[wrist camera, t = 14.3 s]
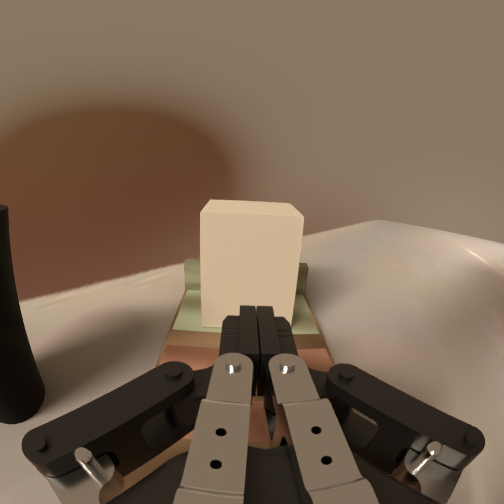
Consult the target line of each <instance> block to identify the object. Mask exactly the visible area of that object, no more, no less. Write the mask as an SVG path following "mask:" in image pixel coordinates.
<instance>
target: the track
mask: <svg viewBox="0 0 504 504" xmlns="http://www.w3.org/2000/svg"><path fill="white" fill-rule="evenodd" d="M184 270H185V292H184V295H183V297H182V300H181V302H180V305H179V307H178V310H177V312H176V315H175V317H174V320H173V322H172V325H171V327H170V330H169V333H168V335H167V338H166V340H165V343H164V346H163V348H162V351H161V354H160V356H159V359H158V362H157V365H156V367H157V366H159V365H161V364H163V363H166V362H170V361H179V362H183V363H186V364H188V365H189V366H190V367H191V368H192V370H200V369H205V368H208V367H210V366H212V365H213V364H214V363H215V360H216V359H217V358H218V357H219V348H220V339H221V330H222V328H218V327H202V313H201V277H200V259H186V260H185V262H184ZM307 274H308V265H307V263H299V269H298V278H297V285H296V293H295V301H294V308H293V315H292V322H291V329H292V333H293V337H294V341H295V344H296V348H297V352H298V356H299V357H300V358H302V359H303V360H304V361H305V363H306V365H307V367H309V368H311V369H314V370H318V371H324V372H328V371H329V369H330V368H331V367H332V366H334V362H333V360H332V357H331V355H330V352H329V350H328V348H327V345H326V343H325V341H324V338H323V336H322V333H321V331H320V329H319V326H318V324H317V322H316V319H315V317H314V315H313V312H312V310H311V308H310V305H309V303H308V301H307V298H306V296H305V289H306V282H307ZM156 367H155V368H156ZM263 404H264V399H263V396H257V386H256V396H252V406H251V408H250V420H249V434H248V446H251V447H256V448H262V449H269V443H268V437H267V432H266V427H265V421H264V416H263ZM351 411H353V410H351ZM193 432H194V430H193V431H191V432H190V433H188V434H187V435H186V436H184V437H183V438H182V439H180V440H179V441H178V442H176V443H175V444H173V445H172V446H171V447H169V448H168V449H166V450H165V451H163V452H162V453H160V454H159V455H157V456H156V457H154V458H153V459H151V460H150V461H148V462H147V463H145V464H144V465H142V466H141V467H139V468H138V469H136V470H134V471H133V472H131V473H130V474H128V475H126V476H125V477H123V479H124V487H123V490H122V491H121V492H120V493H119V494H121V493H122V492H124V491H125V490H127V489H128V488H130V487H131V486H133V485H134V484H136V483H137V482H139V481H140V480H141V479H143V478H144V477H146V476H147V475H148V474H150V473H151V472H153V471H154V470H155V469H157V468H158V467H159V466H161V465H162V464H163V463H165V462H166V461H168V460H169V459H171V458H172V457H174V456H176V455H179V454H181V453H184V452H187V451H189V448H190V444H191V440H192V436H193ZM351 452H352V451H351ZM119 494H118V495H119ZM118 495H117V496H118Z"/></svg>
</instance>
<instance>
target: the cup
mask: <svg viewBox="0 0 504 504" xmlns="http://www.w3.org/2000/svg"><path fill="white" fill-rule="evenodd" d="M44 395H45V389H44V384H43V382H42V379H41V376H40V374H39V371H38V368H37V365H36V363H35V360H34V357H33V354H32V351H31V347H30V344H29V341H28V337H27V334H26V330H25V326H24V322H23V318H22V314H21V310H20V305H19V301H18V296H17V291H16V285H15V279H14V273H13V266H12V257H11V249H10V238H9V219H8V207H7V206H6V205H0V422H1V423H5V424H17V423H20V422H23V421H25V420H27V419H29V418H30V417H32V416H33V415H34V414H35V413H36V412H37V411H38V409H39V408H40V407H41V405H42V402H43V400H44Z"/></svg>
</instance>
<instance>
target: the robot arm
mask: <svg viewBox="0 0 504 504" xmlns="http://www.w3.org/2000/svg"><path fill="white" fill-rule="evenodd" d="M256 386H257V396H263V399H264V404H263V416H264V421H265V427H266V432H267V437H268V443H269V449H262V448H256V447H251V446H248V434H249V420H250V408H251V406H252V396H256ZM352 408H354V409H356V410H357V411H359V412H361V413H362V414H364V415H366V416H367V417H369V418H371V419H373V420H374V421H375V422H376V423H377V425H378V426H376V425H374V424H373V423H371V422H369V421H368V420H366V419H364V418H363V417H361V416H359V415H358V414H356V413H354V412H353V411H351V410H352ZM193 430H194V432H193V436H192V440H191V444H190V448H189V451H187V452H184V453H181V454H179V455H176V456H174V457H172V458H171V459H169V460H168V461H166V462H165V463H163V464H162V465H161V466H159V467H158V468H157V469H155V470H154V471H153V472H151V473H150V474H148V475H147V476H146V477H144V478H143V479H141V480H140V481H139V482H137V483H136V484H134V485H133V486H131V487H130V488H128V489H127V490H125V491H124V492H122V493H121V494H119V493H120V492H121V491H122V490H123V487H124V479H123V477H125V476H126V475H128V474H130V473H131V472H133V471H134V470H136V469H138V468H139V467H141V466H142V465H144V464H145V463H147V462H148V461H150V460H151V459H153V458H154V457H156V456H157V455H159V454H160V453H162V452H163V451H165V450H166V449H168V448H169V447H171V446H172V445H173V444H175V443H176V442H178V441H179V440H180V439H182V438H183V437H184V436H186V435H187V434H188V433H190V432H191V431H193ZM484 446H485V438H484V435H483V434H482V432H481V431H480V430H479V429H478V428H476V427H474V426H472V425H470V424H467V423H465V422H463V421H461V420H459V419H457V418H454V417H452V416H450V415H448V414H446V413H444V412H442V411H440V410H438V409H436V408H434V407H432V406H430V405H428V404H426V403H424V402H422V401H420V400H418V399H416V398H414V397H412V396H410V395H408V394H406V393H404V392H402V391H400V390H398V389H396V388H394V387H393V386H391V385H389V384H387V383H385V382H383V381H381V380H379V379H378V378H376V377H374V376H372V375H370V374H368V373H366V372H365V371H363V370H361V369H359V368H357V367H356V366H353V365H350V364H337V365H334V366H332V367H331V368H330V369H329V371H328V372H324V371H318V370H314V369H311V368H309V367H307V365H306V363H305V361H304V360H303V359H302V358H300V357H299V356H298V352H297V348H296V344H295V341H294V337H293V333H292V329H291V326H290V323H289V322H288V321H287V320H286V319H285V318H284V317H275V316H274V311H273V306H252V305H240V312H239V316H236V315H228V316H227V317H226V318H225V319H224V320H223V322H222V330H221V339H220V348H219V357H218V358H217V359H216V360H215V363H214V364H213V365H212V366H210V367H208V368H205V369H200V370H192V368H191V367H190V366H189V365H188V364H186V363H183V362H179V361H170V362H166V363H163V364H161V365H159V366H157V367H156V368H154V369H152V370H150V371H148V372H147V373H145V374H143V375H141V376H139V377H137V378H136V379H134V380H132V381H130V382H128V383H126V384H124V385H123V386H121V387H119V388H117V389H115V390H113V391H111V392H109V393H107V394H105V395H103V396H101V397H99V398H97V399H95V400H94V401H92V402H90V403H88V404H86V405H83V406H81V407H79V408H77V409H75V410H73V411H71V412H69V413H67V414H65V415H63V416H61V417H59V418H56V419H54V420H52V421H50V422H48V423H46V424H43V425H41V426H39V427H37V428H34V429H32V430H30V431H29V432H27V434H26V435H25V436H24V438H23V440H22V451H23V453H24V455H25V456H26V458H27V459H28V460H29V461H30V462H31V463H32V464H33V465H34V466H35V467H36V468H37V470H38V471H39V472H40V473H41V474H42V475H43V476H44V477H45V478H46V479H47V480H48V482H49V483H50V485H51V487H52V488H53V490H54V492H55V493H56V495H57V496H58V498H59V499H60V501H61V503H62V504H446V503H447V501H448V499H449V498H450V496H451V494H452V492H453V490H454V488H455V486H456V484H457V482H458V479H459V477H460V475H461V473H462V471H463V469H464V468H465V467H466V466H467V465H469V464H470V463H471V462H472V461H473V460H474V459H475V458H476V457H477V456H478V454H479V453H480V452H481V451H482V450H483V448H484ZM351 451H352V452H351ZM379 468H380V469H379ZM384 471H385V472H384ZM387 473H388V474H387ZM389 474H390V475H389ZM391 475H392V476H391ZM118 494H119V495H118ZM117 495H118V496H117Z"/></svg>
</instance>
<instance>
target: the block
mask: <svg viewBox="0 0 504 504" xmlns="http://www.w3.org/2000/svg"><path fill="white" fill-rule="evenodd" d="M303 224H304V216H303V215H301V213H299V212H298V211H297V210H296V209H295V208H294V207H293V206H292V205H291V204H290V203H274V202H273V203H272V202H256V201H232V200H210V201H209V202H208V203H207V205H206V206H205V207H204V208H203V209H202V211H201V212H200V277H201V313H202V327H218V328H222V322H223V320H224V319H225V318H226V317H227V316H228V315H236V316H239V312H240V305H252V306H273V311H274V316H275V317H284V318H285V319H286V320H287V321H288V322H289V323H290V326H291V322H292V315H293V308H294V301H295V293H296V285H297V278H298V269H299V261H300V252H301V243H302V233H303Z"/></svg>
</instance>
